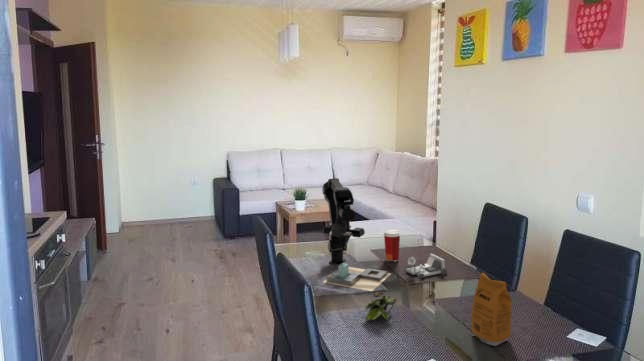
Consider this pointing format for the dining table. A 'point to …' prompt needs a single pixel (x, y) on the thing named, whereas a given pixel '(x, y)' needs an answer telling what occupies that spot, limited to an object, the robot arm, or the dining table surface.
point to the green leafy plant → (379, 306)
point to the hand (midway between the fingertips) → (344, 248)
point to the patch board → (362, 281)
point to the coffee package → (491, 310)
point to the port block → (348, 280)
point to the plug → (343, 270)
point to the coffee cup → (392, 244)
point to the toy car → (427, 267)
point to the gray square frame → (367, 275)
